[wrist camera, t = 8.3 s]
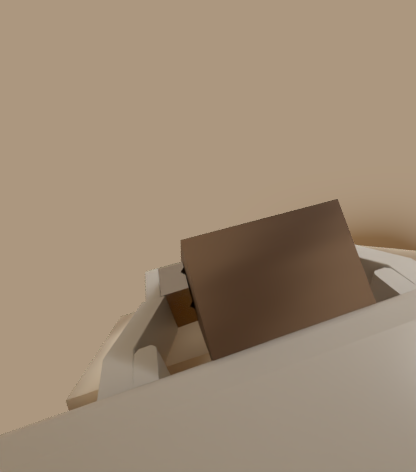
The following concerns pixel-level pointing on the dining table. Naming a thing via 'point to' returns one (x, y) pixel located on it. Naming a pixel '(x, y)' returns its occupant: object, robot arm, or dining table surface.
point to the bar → (273, 277)
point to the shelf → (179, 359)
